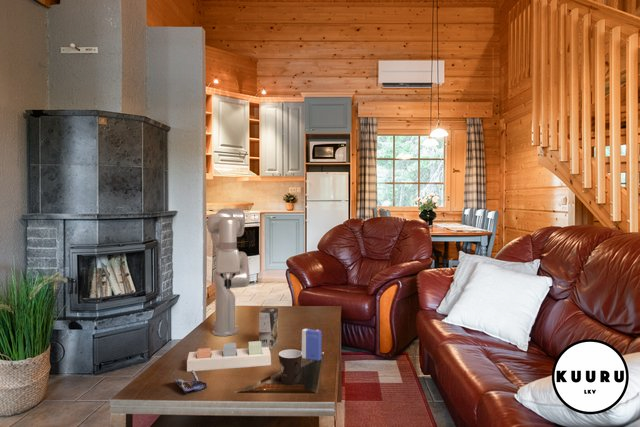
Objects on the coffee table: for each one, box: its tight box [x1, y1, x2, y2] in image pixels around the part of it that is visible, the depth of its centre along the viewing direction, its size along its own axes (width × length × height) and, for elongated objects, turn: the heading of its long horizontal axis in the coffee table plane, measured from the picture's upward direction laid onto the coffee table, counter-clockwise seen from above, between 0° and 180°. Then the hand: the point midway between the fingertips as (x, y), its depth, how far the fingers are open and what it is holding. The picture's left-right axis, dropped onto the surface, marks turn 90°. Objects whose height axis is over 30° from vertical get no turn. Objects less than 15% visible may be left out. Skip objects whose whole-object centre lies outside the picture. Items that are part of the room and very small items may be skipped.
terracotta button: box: [196, 347, 212, 359], centre depth 171 cm, size 5×5×5 cm
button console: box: [186, 347, 272, 372], centre depth 173 cm, size 32×10×4 cm, turn 102°
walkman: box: [301, 328, 322, 361], centre depth 179 cm, size 8×3×12 cm, turn 66°
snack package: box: [171, 370, 207, 394], centre depth 151 cm, size 12×6×12 cm
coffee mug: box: [278, 348, 303, 385], centre depth 155 cm, size 12×9×10 cm
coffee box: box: [258, 307, 279, 350], centre depth 194 cm, size 9×6×16 cm
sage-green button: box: [247, 340, 262, 355], centre depth 175 cm, size 5×5×5 cm
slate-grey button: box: [222, 342, 237, 357], centre depth 173 cm, size 5×5×5 cm
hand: (227, 288), depth 188 cm, fingers closed
